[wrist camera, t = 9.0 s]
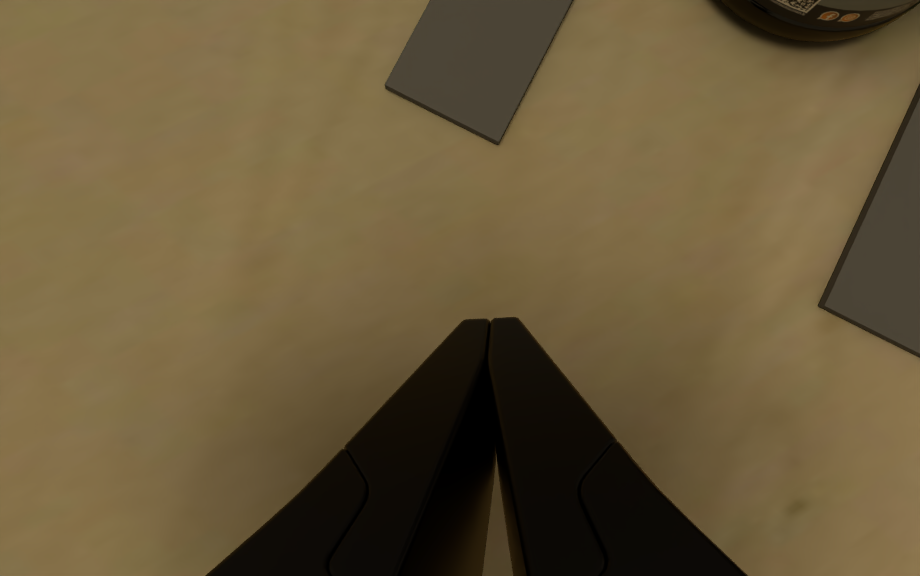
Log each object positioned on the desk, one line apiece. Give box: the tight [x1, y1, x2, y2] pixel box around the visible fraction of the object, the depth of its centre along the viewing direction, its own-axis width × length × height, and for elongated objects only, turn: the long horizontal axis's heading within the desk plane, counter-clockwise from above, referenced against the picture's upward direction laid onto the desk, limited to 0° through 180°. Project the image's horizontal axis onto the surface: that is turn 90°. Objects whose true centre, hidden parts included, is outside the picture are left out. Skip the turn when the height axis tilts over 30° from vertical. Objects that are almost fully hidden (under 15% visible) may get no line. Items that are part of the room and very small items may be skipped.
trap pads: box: [385, 0, 920, 357], centre depth 23 cm, size 11×24×1 cm, turn 63°
